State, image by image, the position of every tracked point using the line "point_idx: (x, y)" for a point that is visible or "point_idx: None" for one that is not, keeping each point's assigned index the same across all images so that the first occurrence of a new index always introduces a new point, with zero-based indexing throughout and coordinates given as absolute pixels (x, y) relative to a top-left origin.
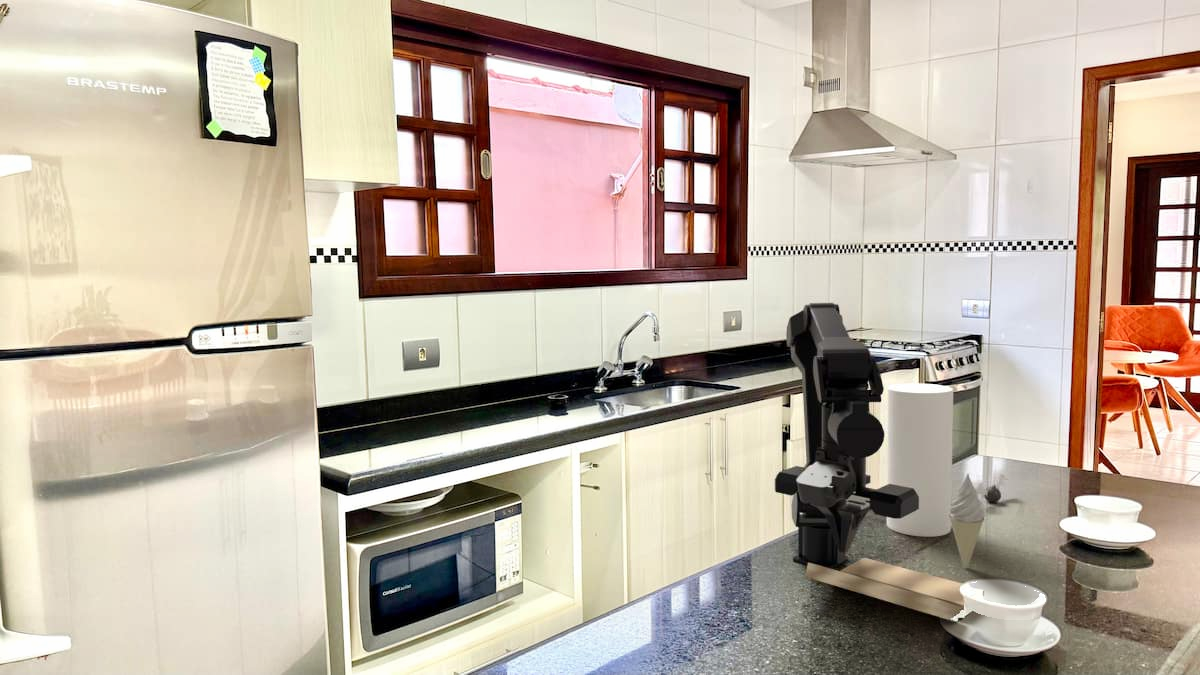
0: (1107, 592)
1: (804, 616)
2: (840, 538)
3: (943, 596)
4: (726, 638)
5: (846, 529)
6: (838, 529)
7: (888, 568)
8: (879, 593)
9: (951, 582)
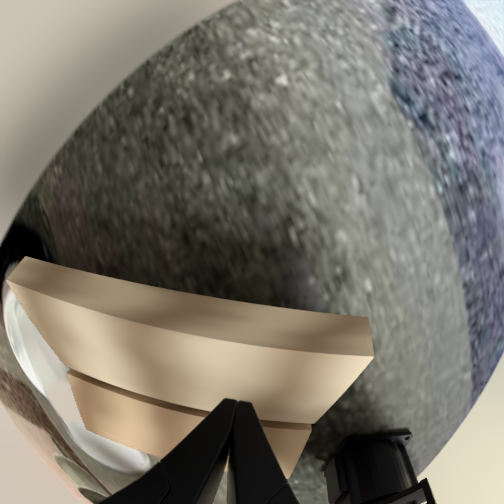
0: (58, 453)
1: (321, 215)
2: (231, 446)
3: (100, 395)
4: (398, 33)
5: (161, 477)
6: (234, 484)
7: None
8: (114, 289)
9: (125, 442)
